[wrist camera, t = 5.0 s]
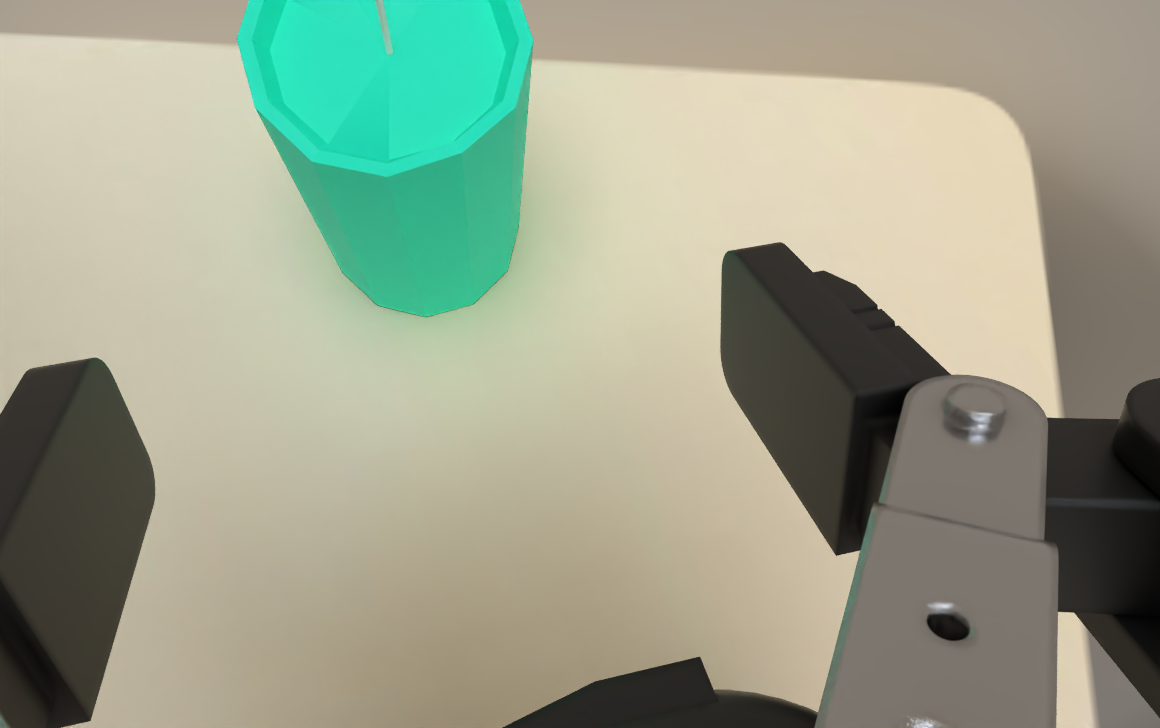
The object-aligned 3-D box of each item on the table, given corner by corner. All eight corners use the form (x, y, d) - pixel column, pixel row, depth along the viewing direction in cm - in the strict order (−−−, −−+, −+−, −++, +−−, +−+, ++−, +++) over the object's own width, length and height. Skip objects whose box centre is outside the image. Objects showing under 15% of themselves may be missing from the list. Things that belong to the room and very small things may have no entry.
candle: (553, 258, 28) (596, 47, 16) (390, 351, 27) (312, 195, 15) (457, 111, 29) (434, -190, 17) (295, 195, 28) (152, -67, 16)
